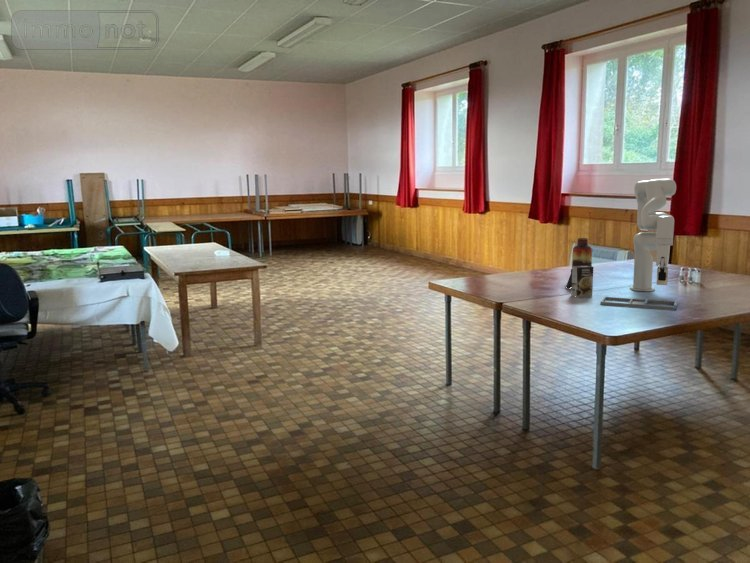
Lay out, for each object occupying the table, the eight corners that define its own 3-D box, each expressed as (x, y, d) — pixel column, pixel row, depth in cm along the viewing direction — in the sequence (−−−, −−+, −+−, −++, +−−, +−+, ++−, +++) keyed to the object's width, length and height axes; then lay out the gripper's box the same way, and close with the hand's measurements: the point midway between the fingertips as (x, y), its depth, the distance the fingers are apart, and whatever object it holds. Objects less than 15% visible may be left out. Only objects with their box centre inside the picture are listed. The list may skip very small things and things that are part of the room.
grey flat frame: (604, 299, 316) (604, 294, 316) (676, 304, 300) (677, 299, 300) (600, 304, 304) (600, 299, 304) (675, 310, 288) (675, 305, 288)
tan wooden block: (657, 283, 298) (658, 266, 297) (667, 283, 296) (668, 267, 295) (656, 284, 295) (657, 268, 293) (666, 285, 292) (667, 268, 291)
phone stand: (565, 288, 348) (566, 267, 346) (570, 287, 352) (571, 266, 350) (580, 290, 342) (580, 269, 340) (585, 288, 346) (586, 267, 344)
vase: (591, 283, 361) (592, 239, 357) (571, 282, 365) (572, 239, 360) (590, 280, 372) (592, 237, 367) (571, 279, 375) (572, 237, 370)
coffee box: (577, 297, 322) (578, 267, 320) (570, 295, 329) (571, 265, 326) (592, 296, 324) (593, 266, 321) (586, 294, 330) (587, 264, 327)
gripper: (656, 240, 301) (655, 276, 304) (654, 243, 287) (652, 281, 289) (673, 240, 298) (671, 277, 301) (672, 243, 283) (669, 282, 286)
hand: (662, 279), depth 295 cm, fingers closed on tan wooden block, 4 cm apart
